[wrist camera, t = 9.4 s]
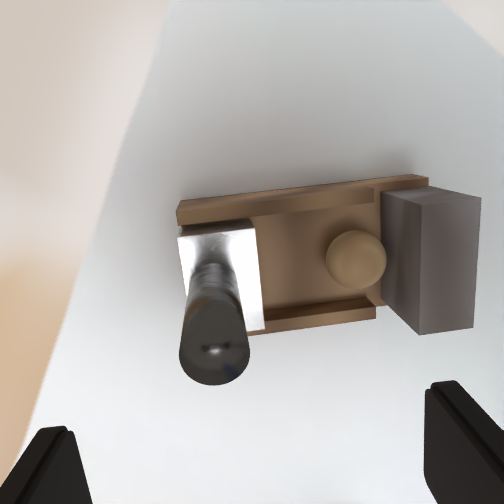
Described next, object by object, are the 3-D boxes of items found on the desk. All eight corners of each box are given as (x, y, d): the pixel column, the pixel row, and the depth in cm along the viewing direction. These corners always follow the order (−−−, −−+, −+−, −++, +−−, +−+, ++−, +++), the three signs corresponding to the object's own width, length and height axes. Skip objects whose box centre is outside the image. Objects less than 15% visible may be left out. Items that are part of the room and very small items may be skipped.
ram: (249, 217, 24) (275, 271, 14) (259, 308, 25) (287, 410, 16) (181, 226, 23) (160, 286, 14) (195, 317, 25) (185, 426, 16)
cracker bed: (412, 174, 26) (482, 187, 19) (411, 288, 28) (472, 336, 22) (180, 200, 25) (169, 224, 18) (198, 317, 27) (194, 375, 21)
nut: (372, 221, 25) (397, 234, 21) (373, 273, 26) (396, 293, 22) (318, 228, 24) (334, 242, 21) (320, 280, 25) (337, 301, 22)
